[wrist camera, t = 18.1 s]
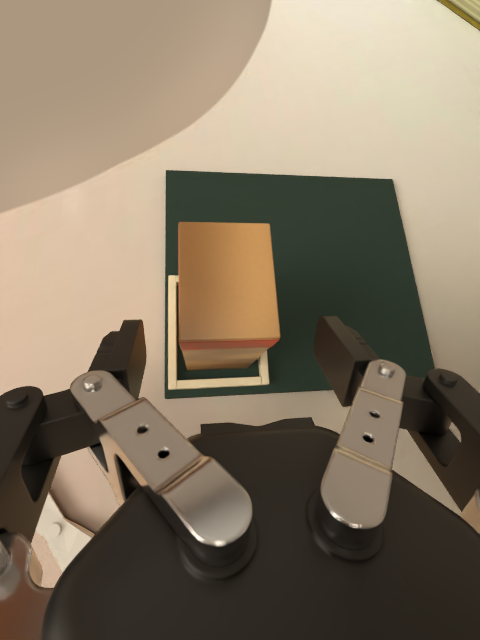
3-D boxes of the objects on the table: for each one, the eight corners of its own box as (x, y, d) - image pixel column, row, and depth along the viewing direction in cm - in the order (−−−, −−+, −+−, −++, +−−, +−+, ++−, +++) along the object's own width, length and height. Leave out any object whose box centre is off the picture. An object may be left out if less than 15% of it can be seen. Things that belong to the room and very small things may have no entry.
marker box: (243, 294, 26) (270, 222, 16) (247, 368, 25) (281, 338, 15) (185, 295, 26) (177, 220, 16) (186, 371, 24) (178, 341, 14)
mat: (389, 182, 32) (397, 173, 31) (434, 384, 27) (445, 382, 25) (166, 173, 29) (165, 163, 28) (165, 398, 24) (163, 398, 22)
